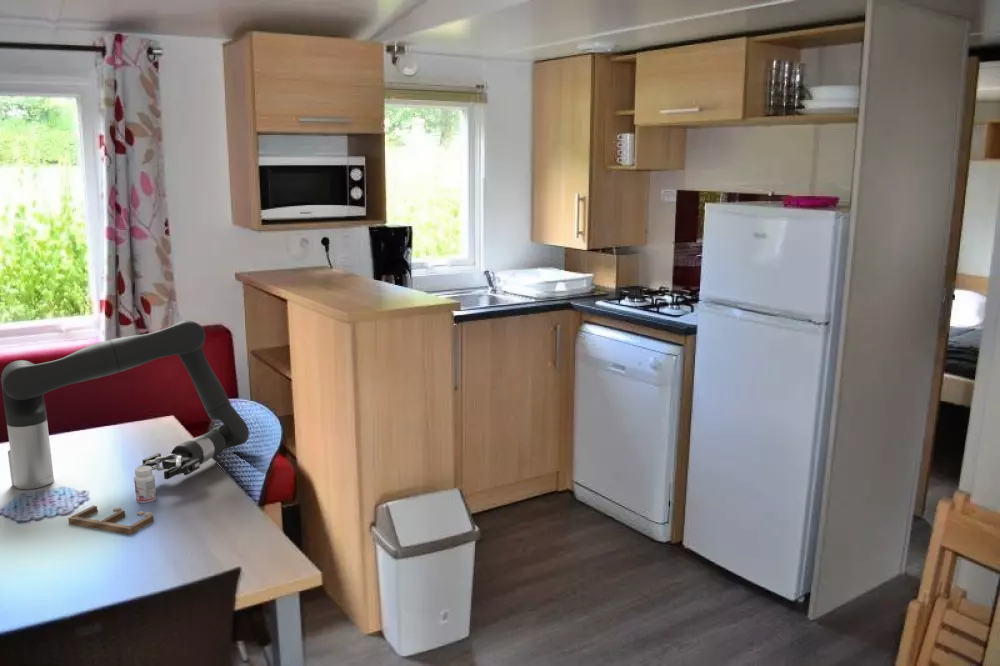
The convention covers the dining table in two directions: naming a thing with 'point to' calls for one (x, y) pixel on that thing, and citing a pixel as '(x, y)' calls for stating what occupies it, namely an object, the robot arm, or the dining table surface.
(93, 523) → the slot rack
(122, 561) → the dining table surface
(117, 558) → the dining table surface
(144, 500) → the pill bottle
